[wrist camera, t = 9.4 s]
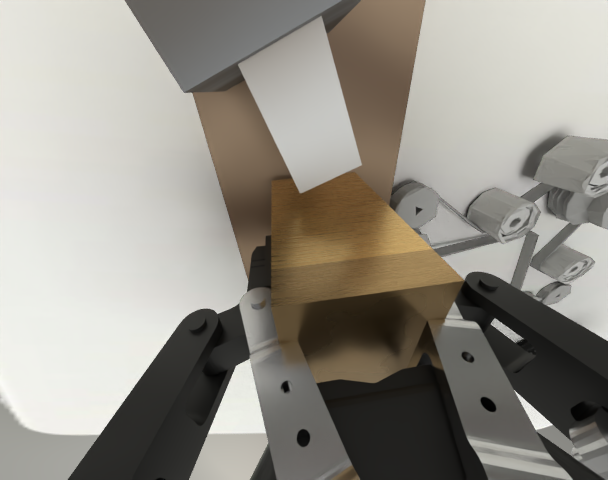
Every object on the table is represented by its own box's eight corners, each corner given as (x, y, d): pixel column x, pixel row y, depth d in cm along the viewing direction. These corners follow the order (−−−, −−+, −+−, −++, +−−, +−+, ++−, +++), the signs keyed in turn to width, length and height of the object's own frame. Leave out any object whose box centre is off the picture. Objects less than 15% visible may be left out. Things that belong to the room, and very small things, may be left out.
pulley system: (518, 6, 11) (349, 236, 17) (659, -45, 7) (377, 276, 13) (639, 212, 22) (511, 308, 28) (721, 236, 18) (552, 342, 24)
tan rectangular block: (348, 259, 15) (408, 391, 8) (284, 267, 15) (295, 410, 8) (354, 172, 11) (464, 280, 5) (271, 180, 11) (271, 307, 5)
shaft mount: (361, 317, 23) (391, 392, 17) (267, 331, 22) (266, 413, 17) (430, -156, 8) (912, -896, 2) (133, -154, 7) (-500, -1266, 1)
